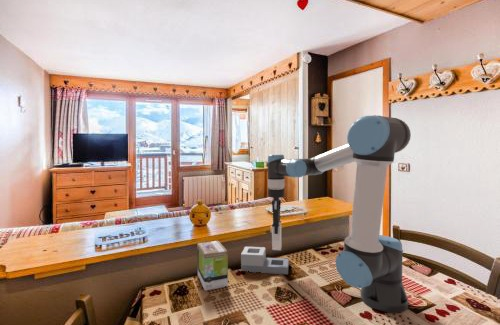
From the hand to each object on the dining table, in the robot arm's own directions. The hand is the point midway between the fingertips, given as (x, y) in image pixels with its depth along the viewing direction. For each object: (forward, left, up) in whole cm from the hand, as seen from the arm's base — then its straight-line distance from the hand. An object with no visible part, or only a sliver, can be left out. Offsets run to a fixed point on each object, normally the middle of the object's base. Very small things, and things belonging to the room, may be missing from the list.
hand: (276, 238), depth 122 cm
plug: (0, 0, -5) cm, 5 cm away
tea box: (-15, +26, -14) cm, 34 cm away
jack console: (0, +5, -14) cm, 15 cm away
